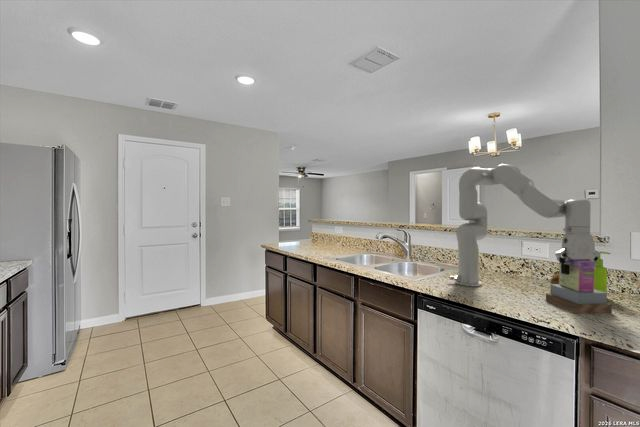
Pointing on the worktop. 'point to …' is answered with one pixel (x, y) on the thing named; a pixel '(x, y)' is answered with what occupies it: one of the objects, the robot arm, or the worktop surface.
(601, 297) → the tower top
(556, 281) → the onion
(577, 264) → the box
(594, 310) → the tower base
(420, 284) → the worktop surface
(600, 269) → the soap dispenser
